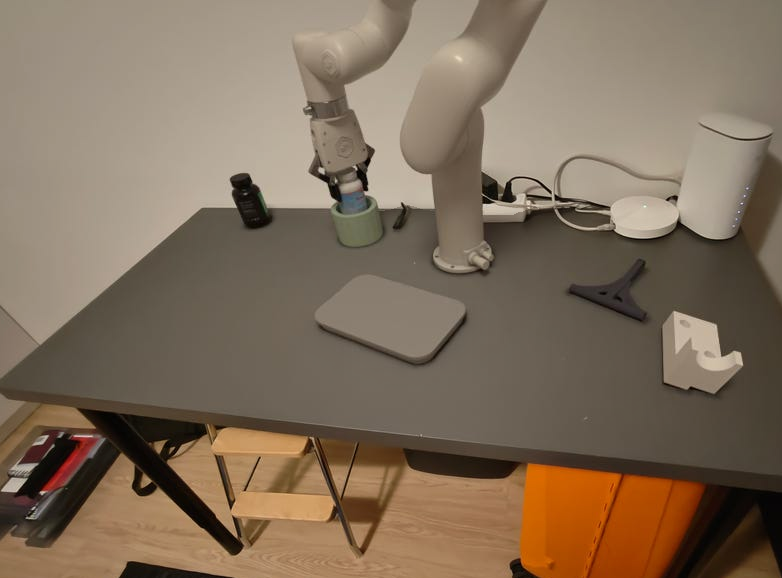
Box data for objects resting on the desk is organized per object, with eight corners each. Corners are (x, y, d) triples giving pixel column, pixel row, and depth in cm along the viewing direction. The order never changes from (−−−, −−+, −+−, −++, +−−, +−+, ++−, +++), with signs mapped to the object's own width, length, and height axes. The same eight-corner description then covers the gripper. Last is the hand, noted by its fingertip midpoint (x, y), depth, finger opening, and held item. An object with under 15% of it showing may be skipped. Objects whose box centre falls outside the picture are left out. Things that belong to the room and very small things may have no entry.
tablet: (425, 371, 76) (423, 362, 74) (311, 327, 87) (307, 317, 85) (472, 314, 85) (471, 304, 83) (364, 280, 96) (361, 271, 94)
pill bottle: (367, 224, 104) (356, 175, 96) (341, 226, 105) (328, 177, 97) (371, 211, 108) (360, 163, 100) (346, 213, 109) (333, 165, 101)
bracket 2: (710, 397, 68) (743, 365, 62) (663, 382, 69) (692, 349, 63) (703, 339, 77) (732, 306, 71) (662, 325, 77) (687, 292, 71)
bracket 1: (677, 281, 87) (681, 268, 85) (641, 322, 79) (644, 310, 77) (607, 257, 94) (609, 245, 92) (568, 293, 87) (569, 281, 85)
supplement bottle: (277, 218, 119) (259, 172, 111) (257, 231, 115) (238, 184, 107) (259, 213, 122) (240, 169, 114) (239, 226, 118) (219, 180, 110)
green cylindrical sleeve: (391, 234, 108) (385, 204, 103) (352, 252, 104) (344, 222, 99) (368, 219, 115) (362, 190, 109) (331, 235, 111) (322, 206, 105)
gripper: (297, 124, 84) (324, 214, 97) (376, 99, 91) (392, 186, 103) (281, 115, 88) (309, 203, 101) (357, 92, 95) (375, 177, 108)
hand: (350, 194), depth 102 cm, fingers closed on pill bottle, 6 cm apart
